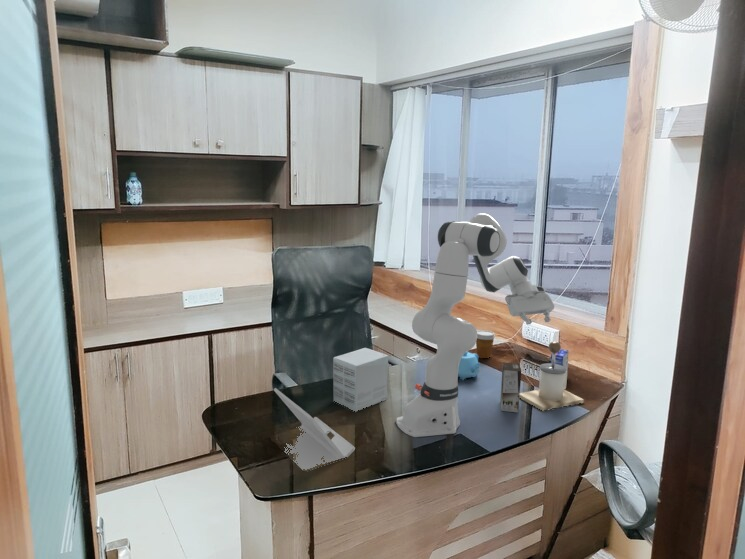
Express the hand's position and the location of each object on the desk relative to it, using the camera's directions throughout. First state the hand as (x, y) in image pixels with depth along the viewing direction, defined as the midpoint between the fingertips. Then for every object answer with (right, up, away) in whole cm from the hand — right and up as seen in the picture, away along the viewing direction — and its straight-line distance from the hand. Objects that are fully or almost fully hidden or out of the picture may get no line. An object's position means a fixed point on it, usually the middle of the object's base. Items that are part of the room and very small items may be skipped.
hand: (539, 322), depth 205 cm
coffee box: (-14, -31, -10) cm, 36 cm away
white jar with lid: (+3, -28, -3) cm, 29 cm away
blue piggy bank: (-27, -25, +20) cm, 42 cm away
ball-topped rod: (+4, -17, -6) cm, 18 cm away
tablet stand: (-86, -36, -41) cm, 102 cm away
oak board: (+3, -30, -3) cm, 30 cm away
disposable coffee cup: (-12, -21, +46) cm, 52 cm away
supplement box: (-71, -30, -6) cm, 77 cm away
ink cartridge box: (+14, -26, +19) cm, 35 cm away
